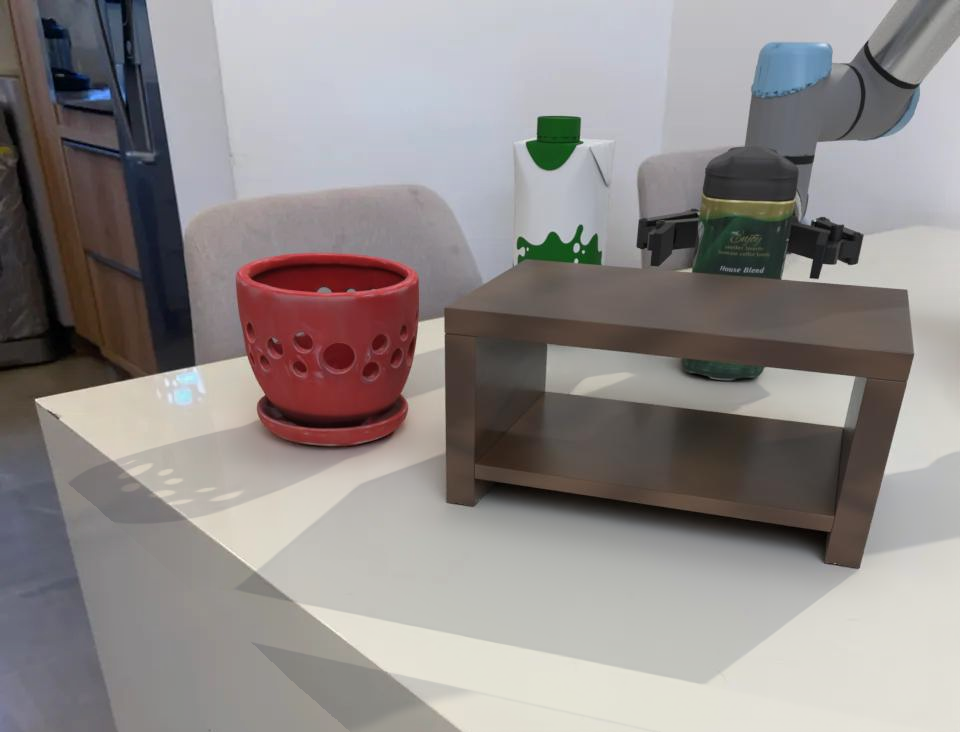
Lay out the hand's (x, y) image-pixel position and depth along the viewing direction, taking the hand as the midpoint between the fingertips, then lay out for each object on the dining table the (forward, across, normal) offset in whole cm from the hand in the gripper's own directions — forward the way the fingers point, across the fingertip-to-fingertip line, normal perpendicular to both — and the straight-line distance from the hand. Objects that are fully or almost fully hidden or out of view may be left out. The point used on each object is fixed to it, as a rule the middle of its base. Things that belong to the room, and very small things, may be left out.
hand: (734, 255), depth 81 cm
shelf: (+27, 0, -10) cm, 29 cm away
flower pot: (+25, +26, -11) cm, 38 cm away
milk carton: (-9, +18, -11) cm, 23 cm away
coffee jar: (-3, 0, -11) cm, 11 cm away
